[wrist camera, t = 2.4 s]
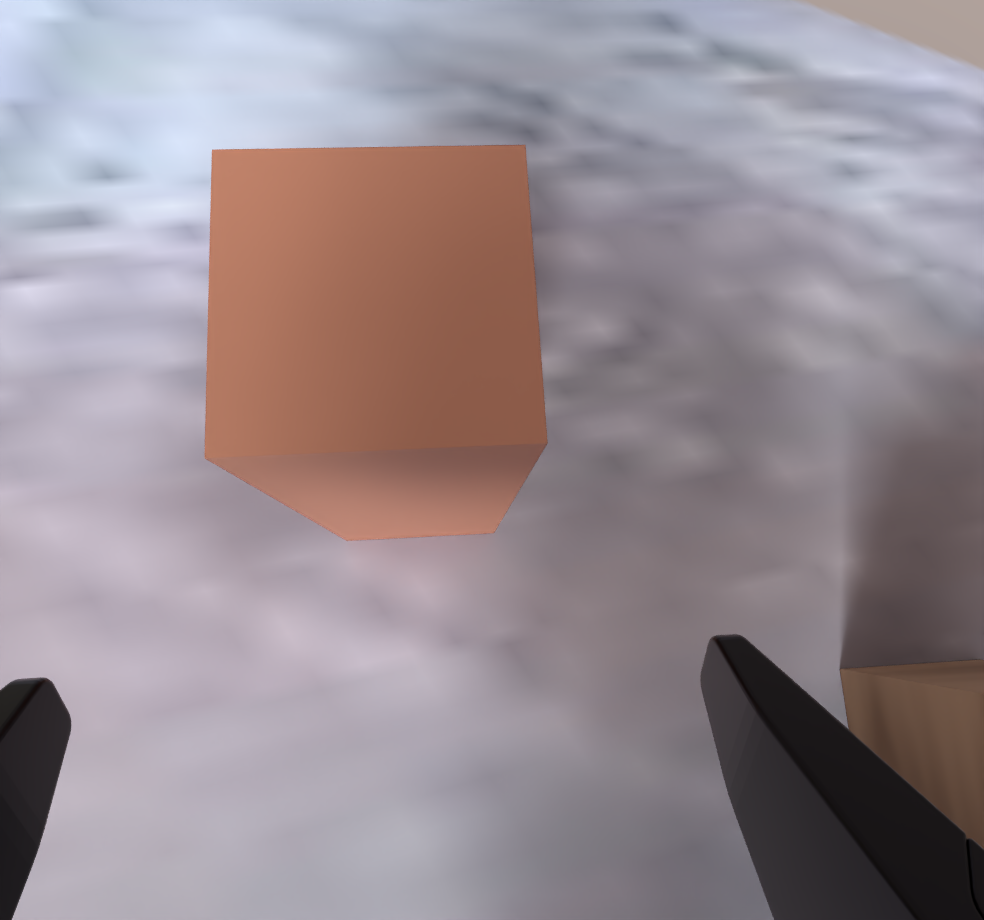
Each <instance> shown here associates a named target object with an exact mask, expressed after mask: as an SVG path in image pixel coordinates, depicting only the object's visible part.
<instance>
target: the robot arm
mask: <svg viewBox="0 0 984 920" xmlns="http://www.w3.org/2000/svg"><path fill="white" fill-rule="evenodd" d="M701 689H702V693H703V697H704V701H705V705H706V709H707V713H708V717H709V721H710V725H711V729H712V733H713V737H714V741H715V745H716V749H717V753H718V757H719V761H720V765H721V769H722V773H723V776H724V780H725V784H726V787H727V791H728V795H729V798H730V800H731V803H732V806H733V809H734V812H735V815H736V818H737V820H738V823H739V826H740V828H741V831H742V834H743V837H744V839H745V842H746V845H747V847H748V850H749V853H750V856H751V858H752V861H753V864H754V866H755V869H756V872H757V874H758V877H759V880H760V883H761V885H762V888H763V891H764V893H765V896H766V899H767V902H768V904H769V907H770V910H771V912H772V915H773V918H774V920H984V849H983V848H982V847H981V846H980V845H979V844H978V843H977V842H976V841H974V840H973V839H972V838H967V837H966V834H965V832H964V831H963V830H962V829H961V828H959V827H958V826H957V825H956V824H955V823H954V822H953V821H951V820H950V819H949V818H948V817H947V816H946V815H945V814H944V813H942V812H941V811H940V810H939V809H938V808H937V807H936V806H935V805H933V804H932V803H931V802H930V801H929V800H928V799H927V798H925V797H924V796H923V795H922V794H921V793H920V792H919V791H918V790H916V789H915V788H914V787H913V786H912V785H911V784H910V783H909V782H907V781H906V780H905V779H904V778H903V777H902V776H901V775H899V774H898V773H897V772H896V771H895V770H894V769H893V768H892V767H890V766H889V765H888V764H887V763H886V762H885V761H884V760H882V759H881V758H880V757H879V756H878V755H877V754H876V753H875V752H873V751H872V750H871V749H870V748H869V747H868V746H867V745H866V744H864V743H863V742H862V741H861V740H860V739H859V738H858V737H856V736H855V735H854V734H853V733H852V732H851V731H850V730H849V729H847V728H846V727H845V726H844V725H843V724H842V723H841V722H840V721H838V720H837V719H836V718H835V717H834V716H833V715H832V714H830V713H829V712H828V711H827V710H826V709H825V708H824V707H823V706H821V705H820V704H819V703H818V702H817V701H816V700H815V699H814V698H812V697H811V696H810V695H809V694H808V693H807V692H806V691H804V690H803V689H802V688H801V687H800V686H799V685H798V684H797V683H795V682H794V681H793V680H792V679H791V678H790V677H789V676H787V675H786V674H785V673H784V672H783V671H782V670H781V669H780V668H778V667H777V666H776V665H775V664H774V663H773V662H772V661H771V660H769V659H768V658H767V657H766V656H765V655H764V654H763V653H761V652H760V651H759V650H758V649H757V648H756V647H755V646H754V645H752V644H751V643H750V642H749V641H748V640H747V639H746V638H744V637H742V636H741V635H737V634H732V635H716V636H713V637H712V638H711V639H710V641H709V643H708V647H707V651H706V655H705V659H704V663H703V667H702V671H701ZM70 732H71V718H70V714H69V712H68V710H67V708H66V706H65V704H64V703H63V701H62V699H61V697H60V695H59V693H58V691H57V690H56V688H55V686H54V684H53V683H52V681H50V680H49V679H47V678H27V679H18V680H14V681H12V682H10V683H9V684H7V685H6V686H5V687H4V688H2V689H1V690H0V920H12V918H13V915H14V912H15V910H16V907H17V905H18V902H19V899H20V897H21V894H22V892H23V889H24V886H25V884H26V881H27V879H28V876H29V873H30V871H31V868H32V865H33V863H34V860H35V857H36V854H37V851H38V849H39V845H40V842H41V839H42V836H43V832H44V829H45V825H46V822H47V818H48V814H49V810H50V807H51V803H52V799H53V796H54V792H55V788H56V784H57V781H58V777H59V773H60V770H61V766H62V762H63V758H64V755H65V751H66V747H67V744H68V740H69V736H70Z"/></svg>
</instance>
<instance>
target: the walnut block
mask: <svg viewBox="0 0 984 920" xmlns="http://www.w3.org/2000/svg"><path fill="white" fill-rule="evenodd" d="M840 673H841V680H842V687H843V693H844V700H845V707H846V714H847V720H848V727H849V730H850V731H851V732H852V733H853V734H854V735H855V736H856V737H858V738H859V739H860V740H861V741H862V742H863V743H864V744H866V745H867V746H868V747H869V748H870V749H871V750H872V751H873V752H875V753H876V754H877V755H878V756H879V757H880V758H881V759H882V760H884V761H885V762H886V763H887V764H888V765H889V766H890V767H892V768H893V769H894V770H895V771H896V772H897V773H898V774H899V775H901V776H902V777H903V778H904V779H905V780H906V781H907V782H909V783H910V784H911V785H912V786H913V787H914V788H915V789H916V790H918V791H919V792H920V793H921V794H922V795H923V796H924V797H925V798H927V799H928V800H929V801H930V802H931V803H932V804H933V805H935V806H936V807H937V808H938V809H939V810H940V811H941V812H942V813H944V814H945V815H946V816H947V817H948V818H949V819H950V820H951V821H953V822H954V823H955V824H956V825H957V826H958V827H959V828H961V829H962V830H963V831H964V832H965V834H966V837H967V838H972V839H973V840H974V841H976V842H977V843H978V844H979V845H980V846H981V847H982V848H983V849H984V660H966V661H951V662H936V663H921V664H906V665H891V666H876V667H861V668H846V669H840Z"/></svg>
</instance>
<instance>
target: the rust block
mask: <svg viewBox="0 0 984 920" xmlns="http://www.w3.org/2000/svg"><path fill="white" fill-rule="evenodd" d="M546 445H547V430H546V416H545V403H544V389H543V376H542V362H541V349H540V336H539V322H538V309H537V295H536V282H535V268H534V255H533V241H532V228H531V215H530V201H529V188H528V174H527V161H526V147H525V145H483V146H419V147H354V148H290V149H225V150H212V172H211V213H210V255H209V297H208V338H207V380H206V422H205V459H207V460H209V461H210V462H212V463H214V464H216V465H217V466H219V467H221V468H222V469H224V470H226V471H228V472H229V473H231V474H233V475H234V476H236V477H238V478H240V479H241V480H243V481H245V482H246V483H248V484H250V485H252V486H253V487H255V488H257V489H259V490H260V491H262V492H264V493H265V494H267V495H269V496H271V497H272V498H274V499H276V500H277V501H279V502H281V503H283V504H284V505H286V506H288V507H290V508H291V509H293V510H295V511H296V512H298V513H300V514H302V515H303V516H305V517H307V518H308V519H310V520H312V521H314V522H315V523H317V524H319V525H320V526H322V527H324V528H326V529H327V530H329V531H331V532H333V533H334V534H336V535H338V536H339V537H341V538H343V539H345V540H346V541H352V540H371V539H390V538H409V537H429V536H448V535H467V534H486V533H494V532H495V530H496V529H497V527H498V525H499V524H500V522H501V520H502V519H503V517H504V515H505V513H506V512H507V510H508V508H509V507H510V505H511V503H512V502H513V500H514V498H515V497H516V495H517V493H518V492H519V490H520V488H521V487H522V485H523V483H524V482H525V480H526V478H527V477H528V475H529V473H530V472H531V470H532V468H533V467H534V465H535V463H536V462H537V460H538V458H539V457H540V455H541V453H542V452H543V450H544V448H545V447H546Z"/></svg>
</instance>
